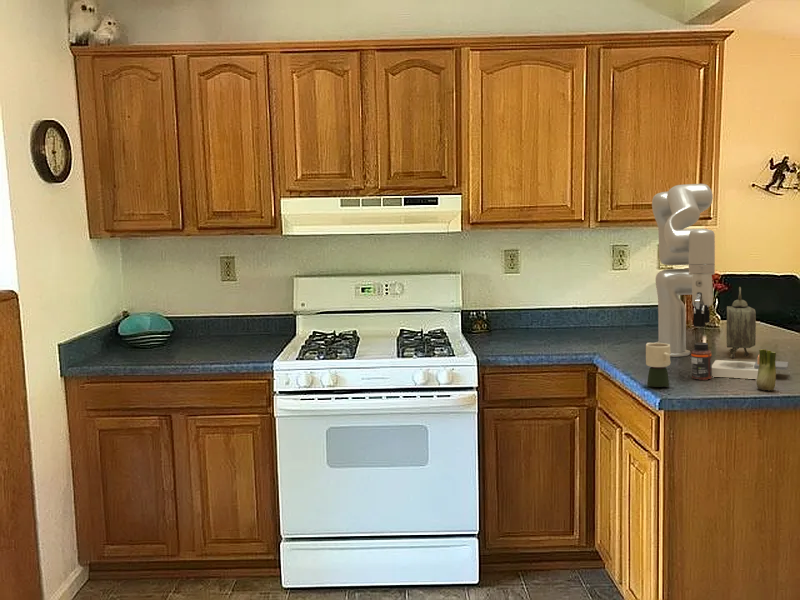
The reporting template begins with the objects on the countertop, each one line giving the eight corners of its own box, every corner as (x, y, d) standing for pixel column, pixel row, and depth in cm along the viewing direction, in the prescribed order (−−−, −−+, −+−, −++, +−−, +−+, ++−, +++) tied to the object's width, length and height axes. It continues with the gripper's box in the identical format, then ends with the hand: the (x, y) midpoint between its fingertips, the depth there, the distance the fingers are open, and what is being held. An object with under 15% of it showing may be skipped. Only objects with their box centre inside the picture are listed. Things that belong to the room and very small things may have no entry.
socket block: (709, 377, 237) (709, 367, 237) (715, 368, 249) (715, 360, 249) (765, 380, 229) (765, 371, 228) (769, 372, 241) (769, 362, 241)
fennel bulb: (778, 392, 214) (778, 351, 213) (759, 392, 215) (760, 351, 214) (771, 388, 220) (772, 347, 218) (753, 388, 220) (754, 347, 219)
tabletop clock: (726, 352, 277) (726, 285, 274) (753, 352, 274) (754, 285, 271) (727, 359, 264) (727, 289, 261) (755, 360, 260) (756, 288, 258)
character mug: (679, 389, 222) (679, 346, 221) (658, 391, 220) (658, 348, 219) (657, 382, 233) (657, 341, 231) (637, 384, 231) (637, 343, 230)
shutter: (754, 367, 232) (754, 357, 232) (756, 362, 240) (756, 352, 240) (786, 369, 228) (786, 359, 227) (788, 364, 236) (788, 354, 235)
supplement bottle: (706, 376, 238) (706, 341, 237) (715, 380, 232) (715, 344, 231) (688, 377, 238) (688, 342, 237) (696, 381, 232) (696, 345, 231)
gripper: (710, 271, 222) (710, 328, 224) (718, 267, 237) (718, 321, 239) (684, 271, 226) (684, 327, 228) (693, 268, 241) (693, 320, 243)
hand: (701, 324), depth 233 cm, fingers open, 9 cm apart
